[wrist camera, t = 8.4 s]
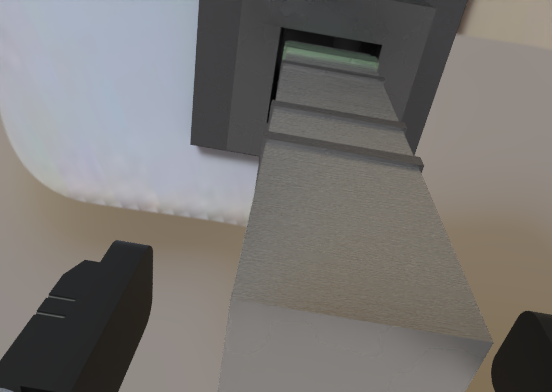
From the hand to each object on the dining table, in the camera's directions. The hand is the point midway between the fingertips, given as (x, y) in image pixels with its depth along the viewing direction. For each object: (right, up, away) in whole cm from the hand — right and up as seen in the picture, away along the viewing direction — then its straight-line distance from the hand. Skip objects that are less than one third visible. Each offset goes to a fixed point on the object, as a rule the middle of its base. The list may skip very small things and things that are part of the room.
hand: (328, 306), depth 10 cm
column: (+1, +8, +13) cm, 16 cm away
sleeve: (+2, +12, +20) cm, 24 cm away
